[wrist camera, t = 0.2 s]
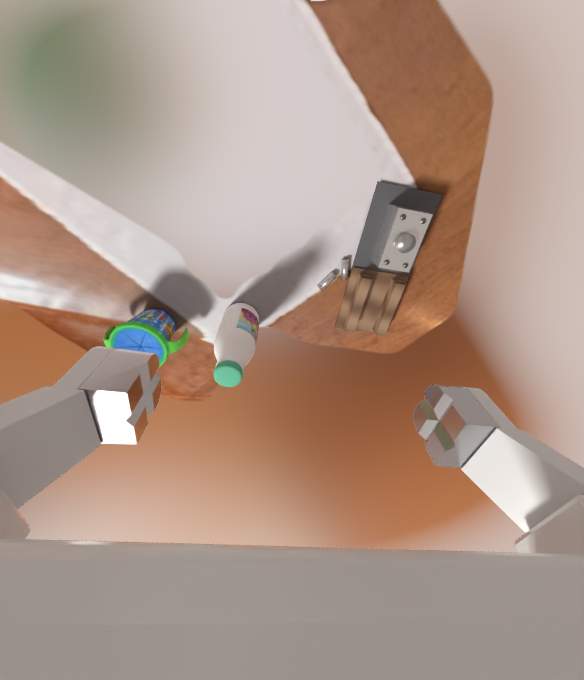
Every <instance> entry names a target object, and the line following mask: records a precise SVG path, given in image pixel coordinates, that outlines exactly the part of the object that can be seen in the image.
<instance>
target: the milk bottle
mask: <svg viewBox="0 0 584 680" xmlns="http://www.w3.org/2000/svg"><path fill="white" fill-rule="evenodd" d="M258 327H259V315H258V313H257V311H256V310H255V309H254V308H253V307H252V306H250V305H248V304H245V303H236V304H233V305H231V306H229V307H228V308H227V309H226V311H225V313H224V315H223V318H222V321H221V324H220V326H219V329H218V332H217V335H216V339H215V343H214V352H215V356H216V359H217V361H218V362H217V364H216V367H215V370H214V379H215V381H216V382H217V383H218V384H220V385H222V386H225V387H232V386H236V385H237V384H239V383H240V382H241V380H242V377H243V371H244V369H243V367H244V366H245V365H246V364H247V363H248V362H249V361H250V360H251V358H252V357H253V355H254V352H255V348H256V342H257V335H258Z"/></svg>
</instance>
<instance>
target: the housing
mask: <svg viewBox="0 0 584 680" xmlns="http://www.w3.org/2000/svg"><path fill="white" fill-rule="evenodd" d="M432 215H433V214H430V213H427V212H424V211H421V210H417V209H412V208H407V207H402V206H396V205H391V204H388V207H387V210H386V213H385V217H384V220H383V223H382V226H381V229H380V232H379V235H378V238H377V241H376V244H375V247H374V250H373V253H372V256H371V261H372V262H373V263H374V264H375V265H376V266H377V267H378V268H384V269H390V270H396V271H402V272H408V273H409V271H410V269H411V266H412V264H413V261H414V259H415V257H416V254H417V252H418V249H419V247H420V244H421V242H422V240H423V237H424V235H425V232H426V230H427V228H428V225H429V223H430V220H431V218H432Z"/></svg>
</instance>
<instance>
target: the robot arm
mask: <svg viewBox="0 0 584 680" xmlns="http://www.w3.org/2000/svg"><path fill="white" fill-rule="evenodd" d="M312 1H324V0H312ZM159 366H160V365H159V358H158V356H157V355H156V354H155V353H147V352H140V351H132V350H125V349H115V348H107V347H99V346H97V347H93V348H91V349H90V350H89V351H88V352H87V353H86V354H85V355H84V356H83V357H82V358H81V359H80V360H79V361H78V362H77V363H76V364H75V365H74V366H73V367H72V368H71V369H70V370H69V371H68V372H67V373H66V374H65V375H64V376H63V377H62V378H60V379H59V381H58V382H56V383H55V385H53V386H52V387H42V388H40V389H37V390H35V391H32V392H30V393H27V394H25V395H23V396H20V397H18V398H15V399H13V400H10V401H8V402H6V403H3V404H1V405H0V680H584V468H583V467H581V466H580V465H578V464H576V463H575V462H573V461H572V460H570V459H568V458H567V457H565V456H564V455H562V454H560V453H559V452H557V451H555V450H554V449H552V448H551V447H549V446H547V445H546V444H544V443H543V442H541V441H539V440H538V439H536V438H534V437H533V436H531V435H530V434H528V433H526V432H525V431H523V430H518V429H517V428H516V427H515V426H514V425H513V423H512V422H511V421H510V420H509V419H508V418H507V417H506V416H505V415H504V414H503V412H502V411H500V409H499V408H498V407H497V406H496V405H495V404H494V402H493V401H492V400H491V399H490V398H489V397H488V396H487V395H486V394H485V393H484V391H482V390H480V389H478V388H467V387H452V386H443V385H433V384H432V385H431V386H429V387H428V388H427V390H426V391H425V393H424V395H425V400H423V401H422V402H420V403H418V405H417V407H416V408H415V410H414V418H413V420H414V425H415V428H416V430H417V432H418V433H419V434H420V435H421V436H422V437H423V438H425V439H426V442H425V447H426V449H427V451H428V453H429V455H430V457H431V459H432V461H433V463H434V465H436V466H447V467H456V468H462V469H461V470H462V471H463V472H464V473H465V474H466V475H467V476H468V477H469V478H470V479H471V480H472V481H473V482H474V483H475V484H476V485H477V486H478V487H479V488H480V489H482V490H483V491H484V492H485V493H486V494H487V495H488V496H489V497H490V498H491V499H492V500H493V501H494V502H495V503H496V504H497V505H498V506H499V507H500V508H501V509H502V510H503V511H504V512H505V513H506V514H507V515H508V516H509V517H510V518H511V519H512V520H513V521H514V522H515V523H516V524H517V525H518V526H519V527H520V528H521V529H522V530H523V531H524V532H525V534H524V535H522V536H521V537H520V538H518V539H517V540H516V541H515V547H516V549H517V551H518V552H519V553H513V552H476V551H440V550H438V551H437V550H404V549H403V550H400V549H367V548H331V547H293V546H292V547H291V546H258V545H256V546H255V545H221V544H183V543H145V542H143V543H142V542H107V541H69V540H68V541H67V540H33V539H25V538H26V537H27V535H28V534H29V532H30V528H29V524H28V523H27V521H26V520H25V519H24V518H23V516H22V515H21V513H20V512H19V511H18V508H19V507H20V506H22V505H23V504H24V503H25V502H27V501H28V500H30V499H31V498H32V497H34V496H35V495H36V494H38V493H39V492H40V491H42V490H43V489H44V488H45V487H47V486H48V485H49V484H51V483H52V482H53V481H55V480H56V479H57V478H59V477H60V476H61V475H63V474H64V473H65V472H67V471H68V470H69V469H70V468H72V467H73V466H74V465H76V464H77V463H78V462H80V461H81V460H82V459H84V458H85V457H86V456H88V455H89V454H90V453H92V452H93V451H94V450H95V449H97V448H98V447H99V446H101V443H111V444H135V445H137V444H138V442H139V440H140V438H141V436H142V434H143V433H144V431H145V429H146V427H147V425H148V420H147V415H149V414H150V413H152V412H153V411H155V409H156V407H157V404H158V402H159V398H160V395H161V386H162V384H161V377H160V376H159V375H158V374H157V373H156V371H157V369H158V368H159Z"/></svg>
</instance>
